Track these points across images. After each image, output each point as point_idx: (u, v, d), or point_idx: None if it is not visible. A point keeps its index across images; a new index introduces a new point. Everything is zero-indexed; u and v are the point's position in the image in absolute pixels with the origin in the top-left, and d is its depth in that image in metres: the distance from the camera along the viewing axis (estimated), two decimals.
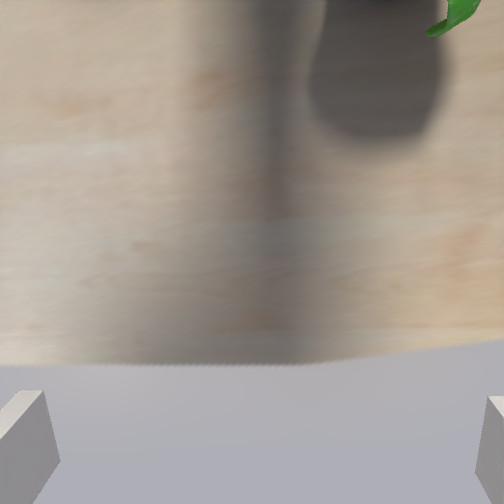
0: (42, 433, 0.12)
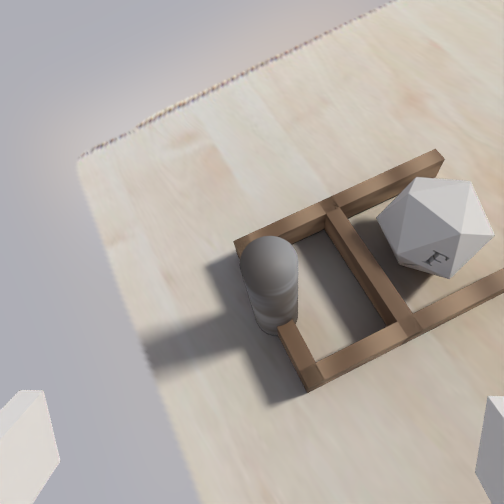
0: (42, 433, 0.12)
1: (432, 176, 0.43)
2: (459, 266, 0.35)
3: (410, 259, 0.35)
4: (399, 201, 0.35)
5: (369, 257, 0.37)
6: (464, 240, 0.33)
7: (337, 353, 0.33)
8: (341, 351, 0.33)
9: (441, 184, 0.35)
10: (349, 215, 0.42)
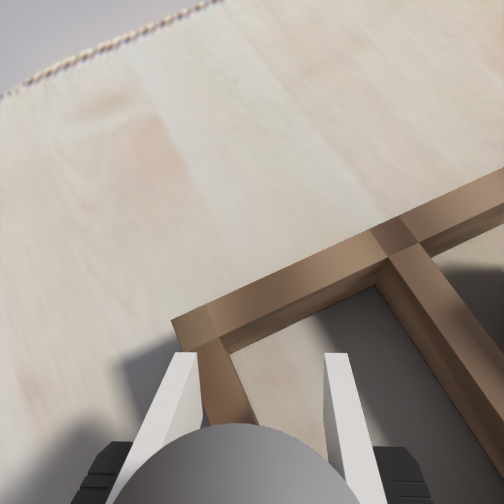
0: (197, 389, 0.14)
1: None
2: None
3: None
4: None
5: None
6: None
7: None
8: None
9: None
10: (428, 255, 0.20)
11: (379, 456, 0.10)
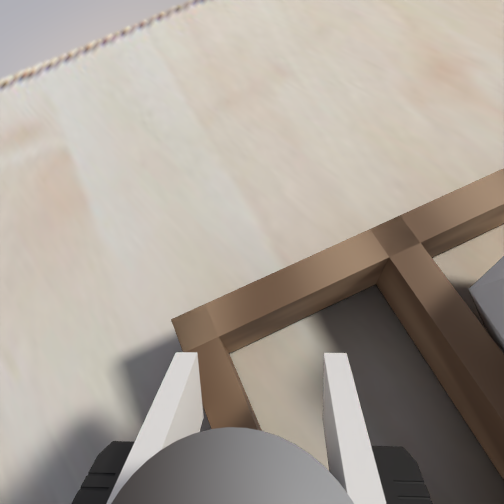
0: (197, 389, 0.14)
1: None
2: None
3: None
4: None
5: None
6: None
7: None
8: None
9: None
10: (430, 256, 0.20)
11: (378, 456, 0.10)
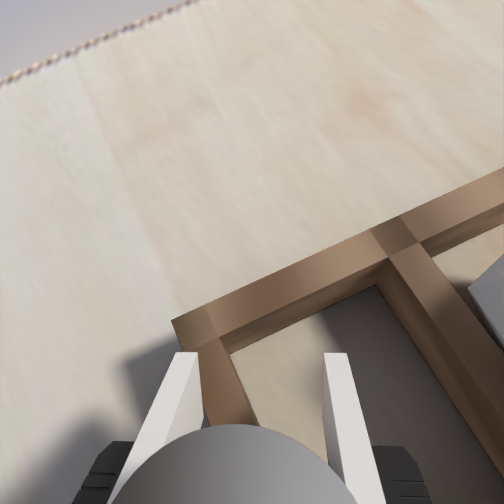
0: (197, 389, 0.14)
1: None
2: None
3: None
4: None
5: None
6: None
7: None
8: None
9: None
10: (429, 255, 0.20)
11: (378, 456, 0.10)
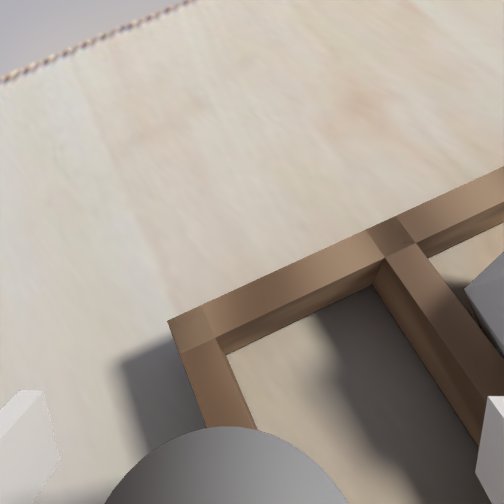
0: (42, 433, 0.12)
1: None
2: None
3: None
4: None
5: None
6: None
7: None
8: None
9: None
10: (426, 256, 0.20)
11: None
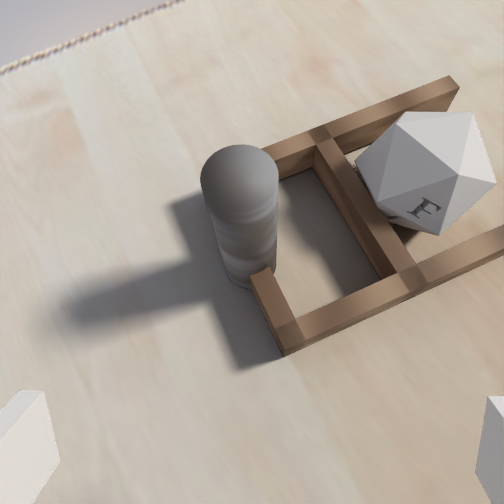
0: (42, 433, 0.12)
1: (442, 111, 0.36)
2: (452, 220, 0.29)
3: (393, 209, 0.28)
4: (383, 136, 0.28)
5: (366, 196, 0.30)
6: (462, 185, 0.26)
7: (322, 308, 0.27)
8: (327, 306, 0.27)
9: (437, 116, 0.28)
10: (343, 151, 0.35)
11: None
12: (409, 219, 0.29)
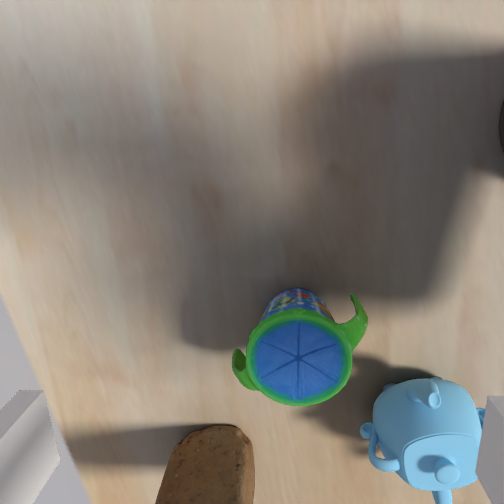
0: (42, 433, 0.12)
1: None
2: None
3: None
4: None
5: None
6: None
7: None
8: None
9: None
10: None
11: None
12: None
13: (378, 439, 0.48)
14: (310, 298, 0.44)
